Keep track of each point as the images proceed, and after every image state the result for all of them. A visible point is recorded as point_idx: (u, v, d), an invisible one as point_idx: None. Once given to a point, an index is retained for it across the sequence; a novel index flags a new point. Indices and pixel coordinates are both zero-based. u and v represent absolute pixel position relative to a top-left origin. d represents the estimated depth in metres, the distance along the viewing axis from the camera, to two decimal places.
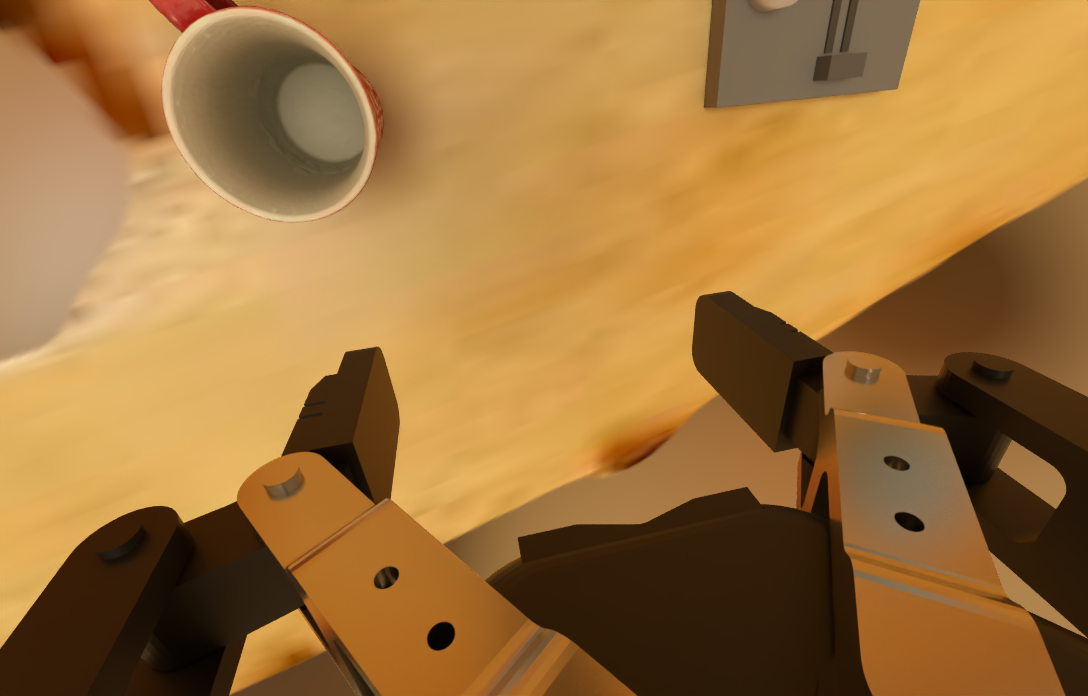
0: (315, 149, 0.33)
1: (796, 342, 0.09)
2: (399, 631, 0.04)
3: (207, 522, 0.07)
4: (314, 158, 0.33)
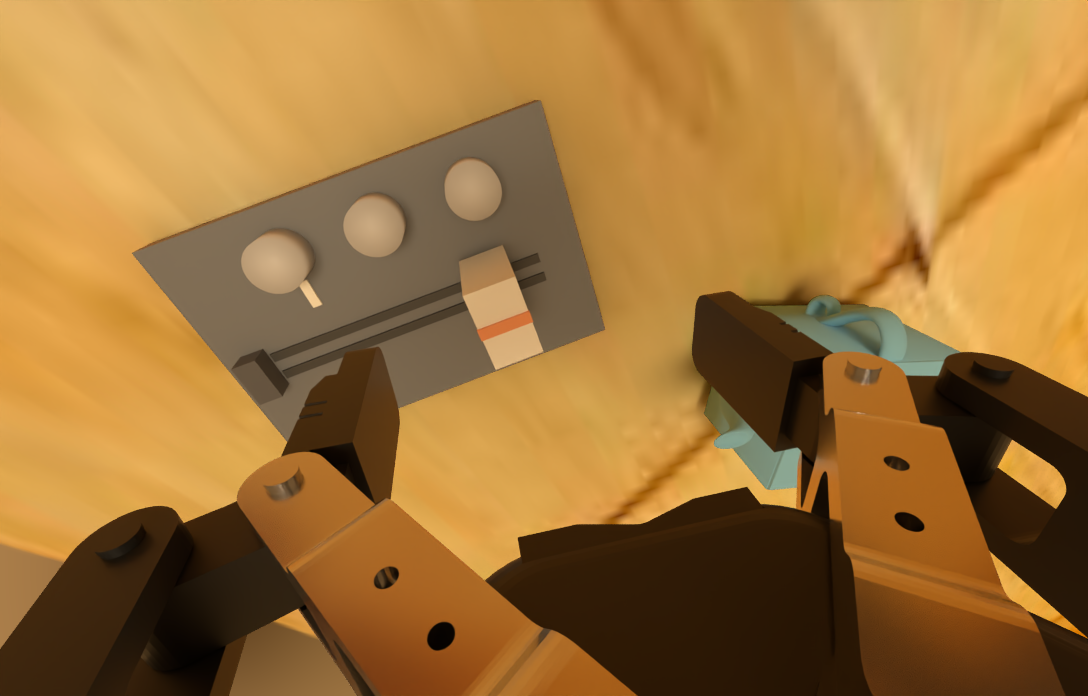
0: None
1: (796, 342, 0.09)
2: (399, 631, 0.04)
3: (207, 522, 0.07)
4: None
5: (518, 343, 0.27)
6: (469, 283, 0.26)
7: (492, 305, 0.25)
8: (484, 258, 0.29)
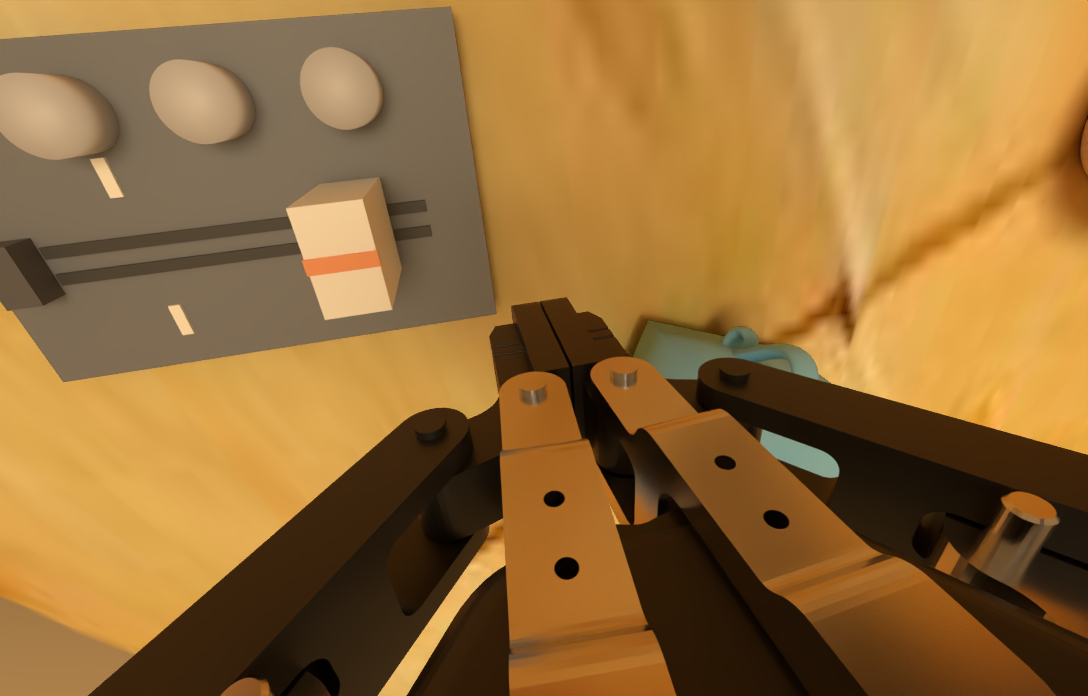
0: None
1: (588, 347, 0.10)
2: (541, 543, 0.05)
3: (468, 426, 0.08)
4: None
5: (358, 290, 0.21)
6: (308, 199, 0.20)
7: (327, 231, 0.19)
8: (348, 183, 0.23)
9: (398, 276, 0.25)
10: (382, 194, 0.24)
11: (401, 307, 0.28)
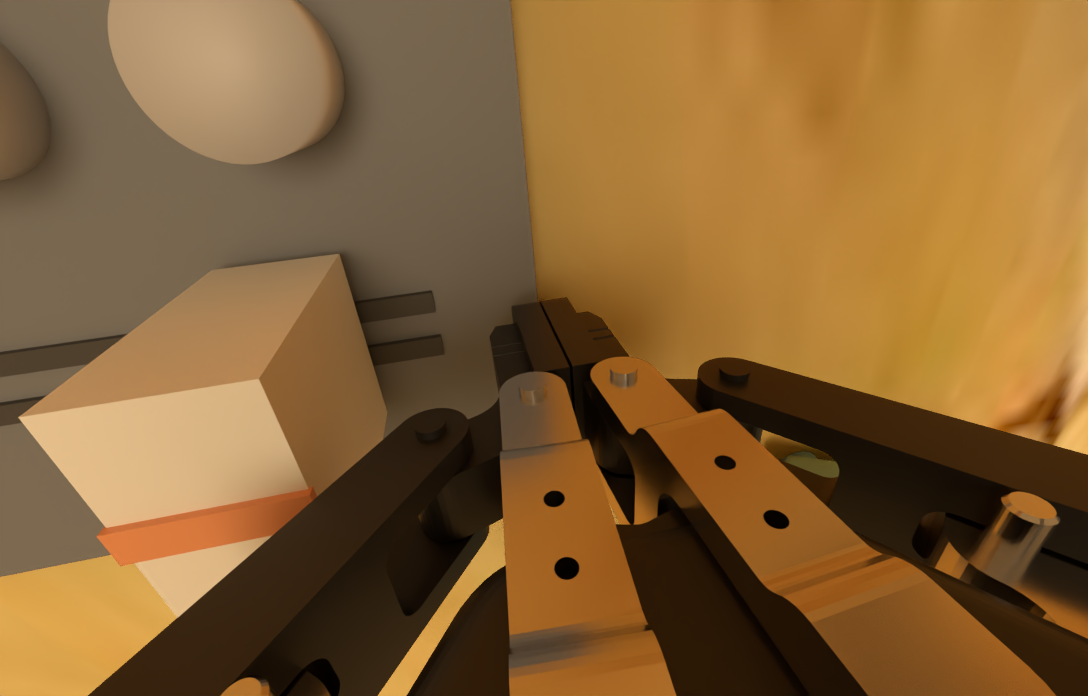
0: None
1: (588, 347, 0.10)
2: (540, 543, 0.05)
3: (469, 426, 0.08)
4: None
5: None
6: (126, 355, 0.07)
7: (164, 461, 0.07)
8: (267, 278, 0.10)
9: None
10: (345, 289, 0.12)
11: None
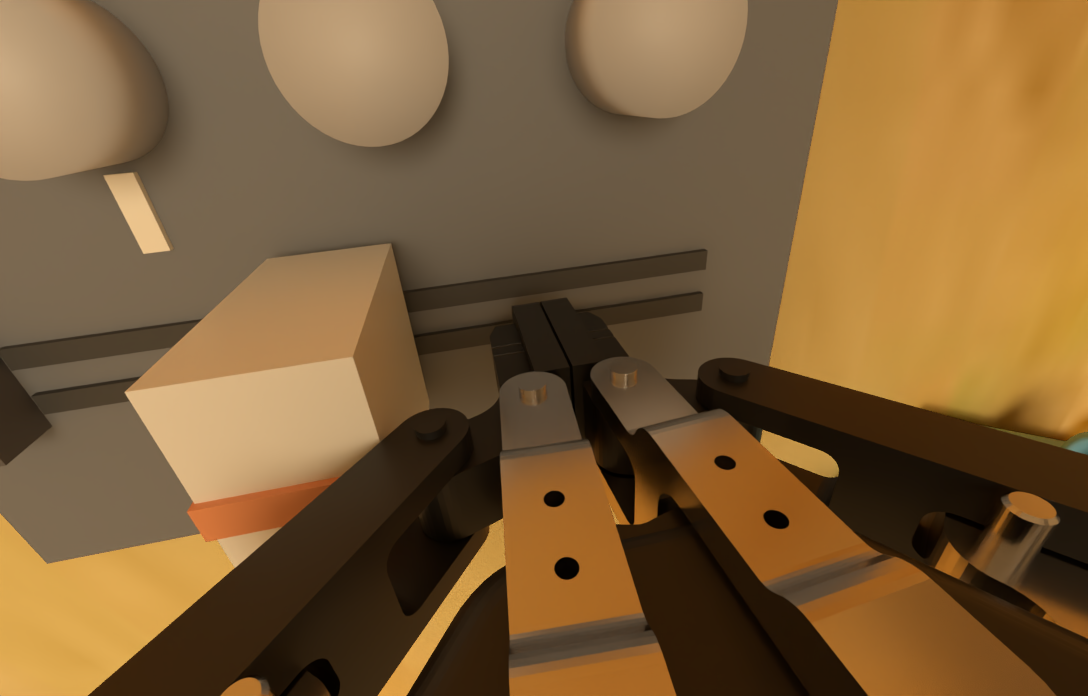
0: None
1: (588, 347, 0.10)
2: (541, 543, 0.05)
3: (469, 426, 0.08)
4: None
5: None
6: (211, 337, 0.08)
7: (255, 438, 0.07)
8: (325, 265, 0.11)
9: None
10: (396, 278, 0.12)
11: None
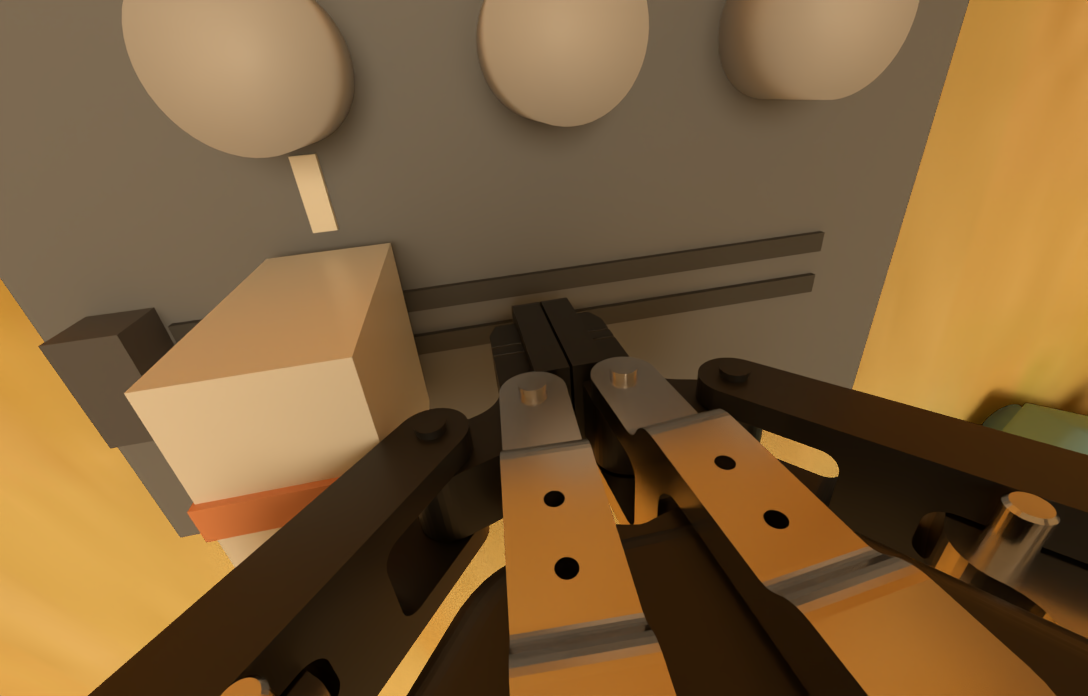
0: None
1: (588, 347, 0.10)
2: (541, 543, 0.05)
3: (468, 427, 0.08)
4: None
5: None
6: (210, 337, 0.08)
7: (254, 439, 0.07)
8: (325, 265, 0.11)
9: None
10: (396, 278, 0.12)
11: None
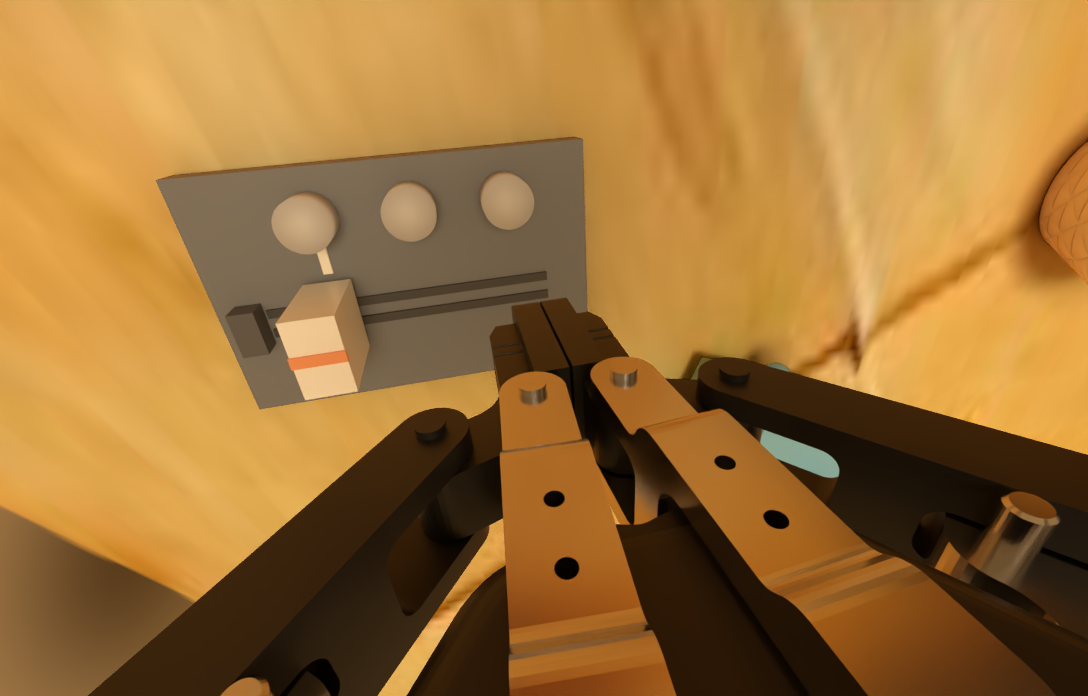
0: None
1: (588, 347, 0.10)
2: (541, 543, 0.05)
3: (468, 427, 0.08)
4: None
5: (331, 378, 0.27)
6: (292, 311, 0.26)
7: (307, 338, 0.26)
8: (325, 288, 0.29)
9: (365, 356, 0.31)
10: (352, 292, 0.30)
11: None
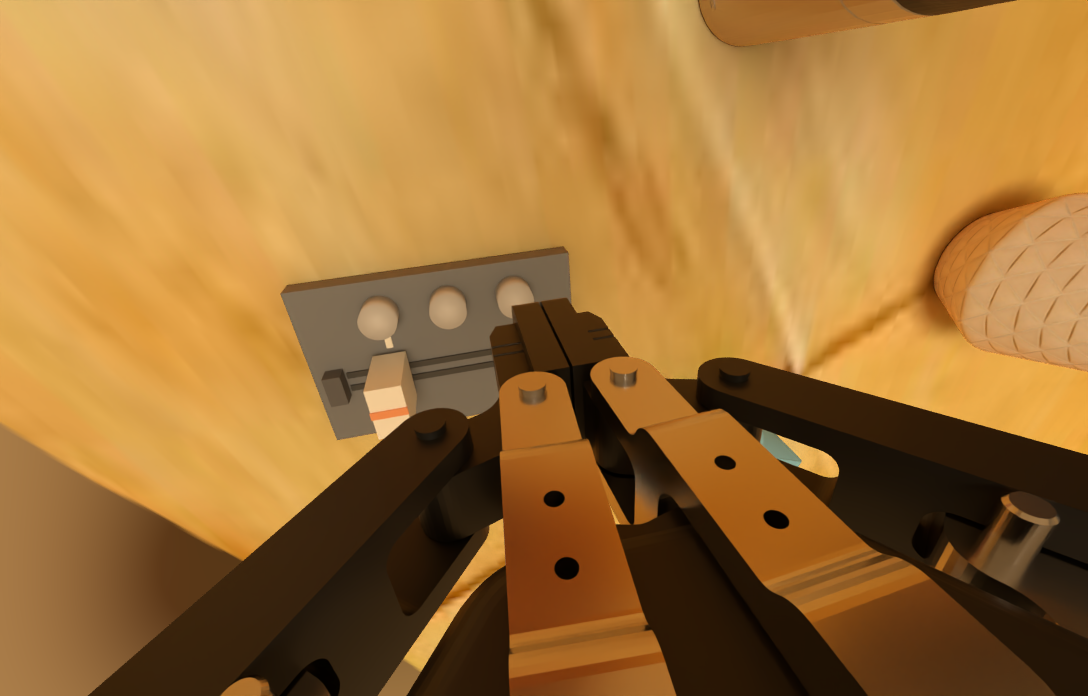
0: None
1: (588, 347, 0.10)
2: (541, 543, 0.05)
3: (469, 426, 0.08)
4: None
5: (397, 425, 0.40)
6: (371, 381, 0.39)
7: (382, 400, 0.38)
8: (389, 360, 0.42)
9: (415, 404, 0.44)
10: (407, 360, 0.43)
11: None
